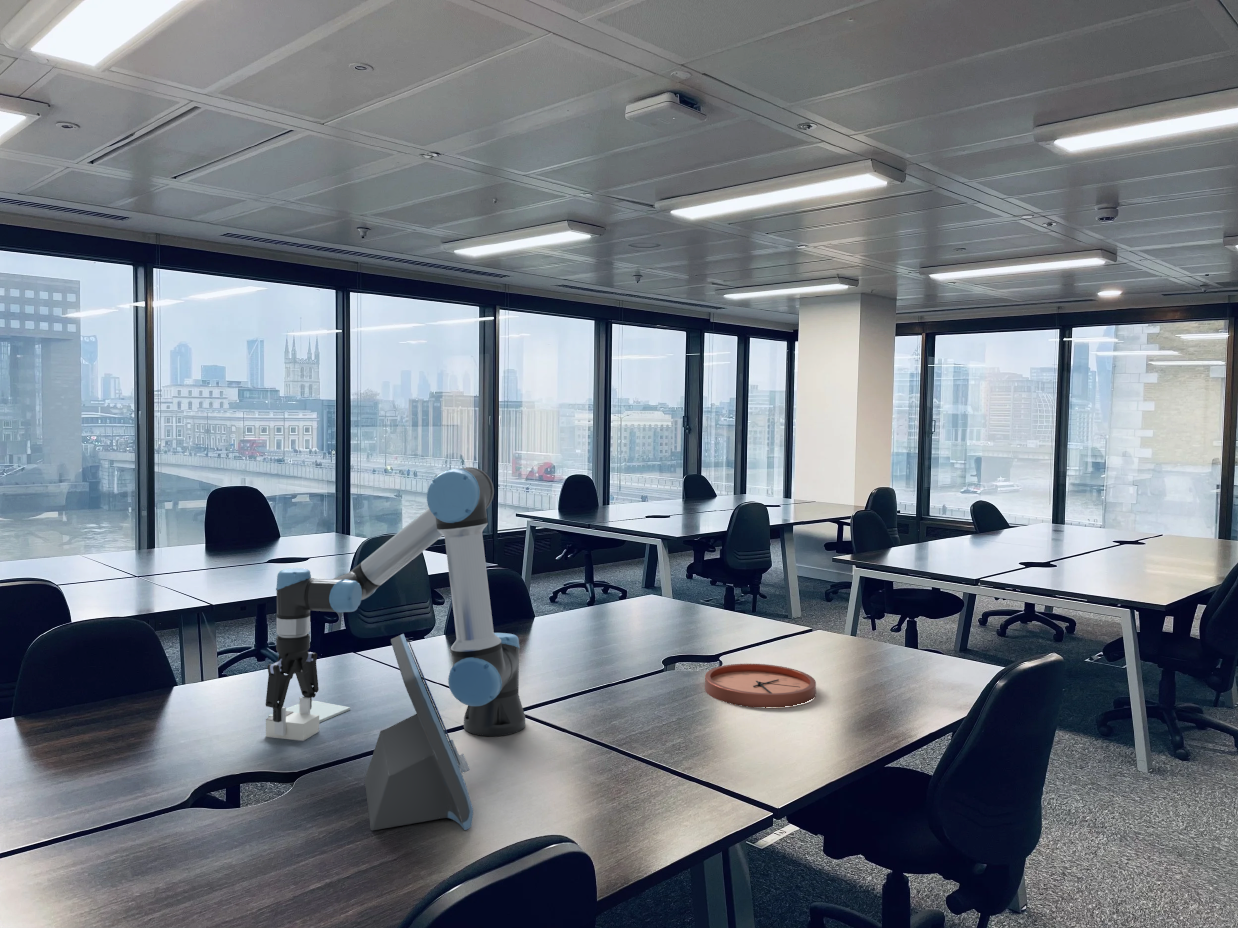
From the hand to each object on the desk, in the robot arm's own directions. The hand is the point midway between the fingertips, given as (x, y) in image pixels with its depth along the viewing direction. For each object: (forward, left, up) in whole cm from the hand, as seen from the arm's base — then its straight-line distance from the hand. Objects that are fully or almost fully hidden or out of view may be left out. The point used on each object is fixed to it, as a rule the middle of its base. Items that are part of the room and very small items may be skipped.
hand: (292, 728), depth 206 cm
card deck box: (0, 0, -1) cm, 1 cm away
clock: (-92, -85, -2) cm, 125 cm away
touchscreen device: (-48, +16, -1) cm, 51 cm away
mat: (+7, -13, -1) cm, 15 cm away
